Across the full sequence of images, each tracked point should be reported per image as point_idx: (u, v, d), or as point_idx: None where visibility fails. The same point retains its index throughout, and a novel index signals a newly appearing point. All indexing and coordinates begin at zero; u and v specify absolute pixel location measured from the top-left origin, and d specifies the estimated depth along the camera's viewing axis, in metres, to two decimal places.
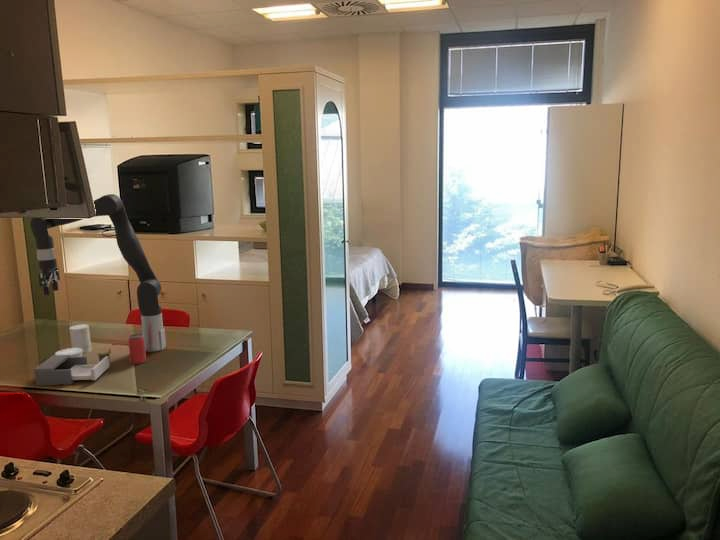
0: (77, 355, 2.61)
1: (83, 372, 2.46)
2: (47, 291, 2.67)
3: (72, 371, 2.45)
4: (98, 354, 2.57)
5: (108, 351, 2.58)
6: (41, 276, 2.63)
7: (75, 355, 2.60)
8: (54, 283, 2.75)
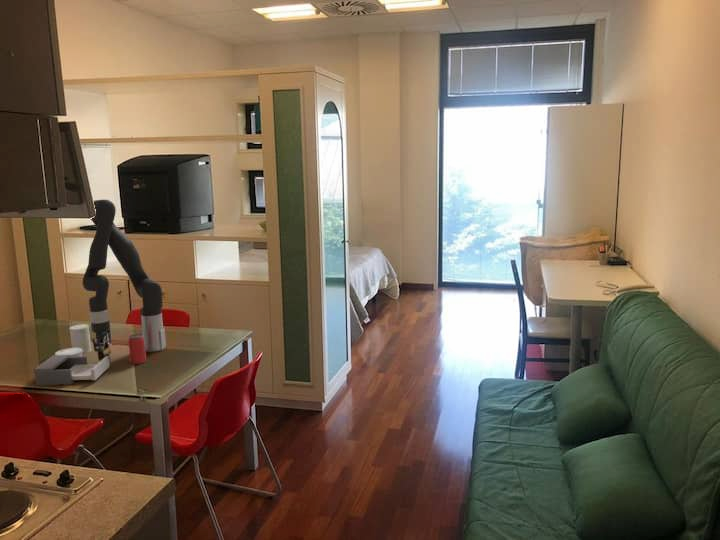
0: (77, 355, 2.61)
1: (83, 372, 2.46)
2: (101, 355, 2.56)
3: (72, 371, 2.45)
4: None
5: (108, 351, 2.58)
6: (95, 342, 2.52)
7: (75, 355, 2.60)
8: None
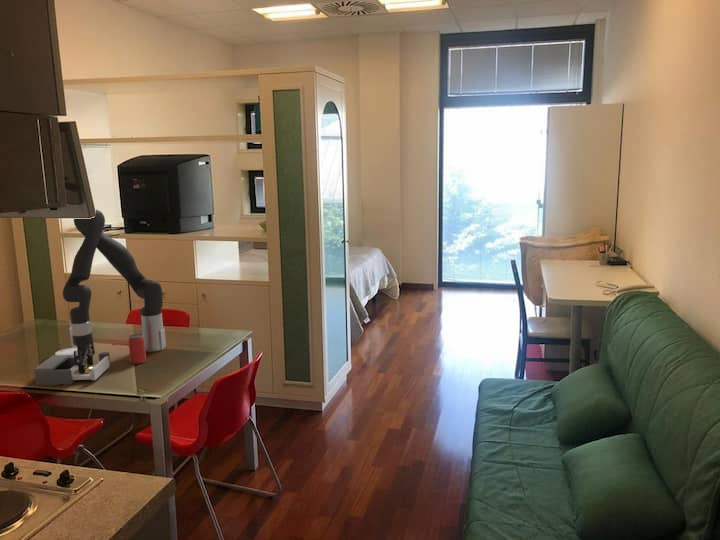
0: None
1: None
2: (82, 369, 2.41)
3: (72, 371, 2.45)
4: None
5: None
6: (76, 354, 2.38)
7: None
8: (89, 358, 2.49)
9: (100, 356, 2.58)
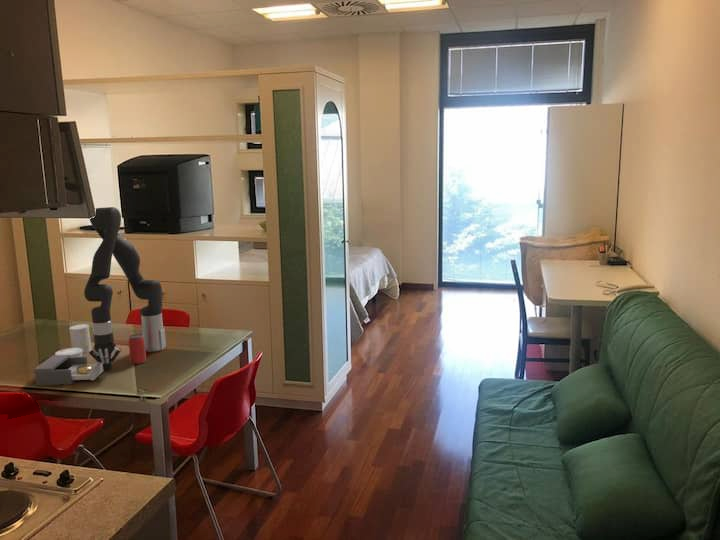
0: (77, 355, 2.61)
1: None
2: None
3: None
4: (78, 372, 2.44)
5: (88, 369, 2.45)
6: None
7: (75, 355, 2.60)
8: None
9: None
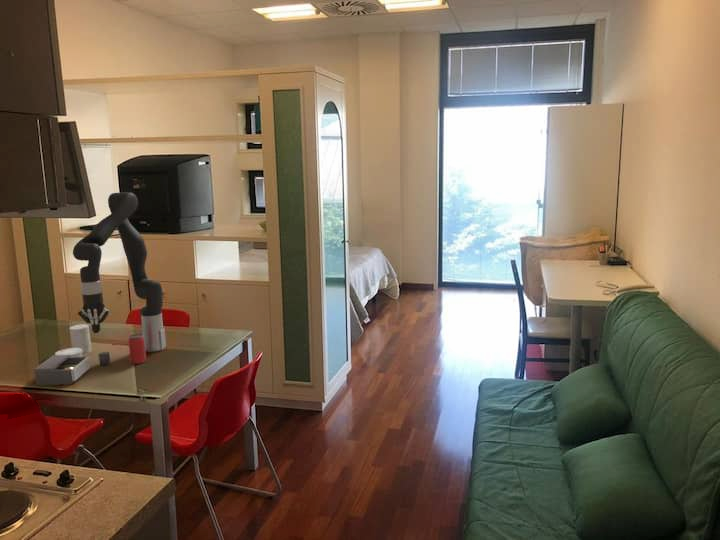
0: (77, 355, 2.61)
1: None
2: None
3: None
4: None
5: None
6: None
7: (75, 355, 2.60)
8: None
9: (100, 356, 2.58)
